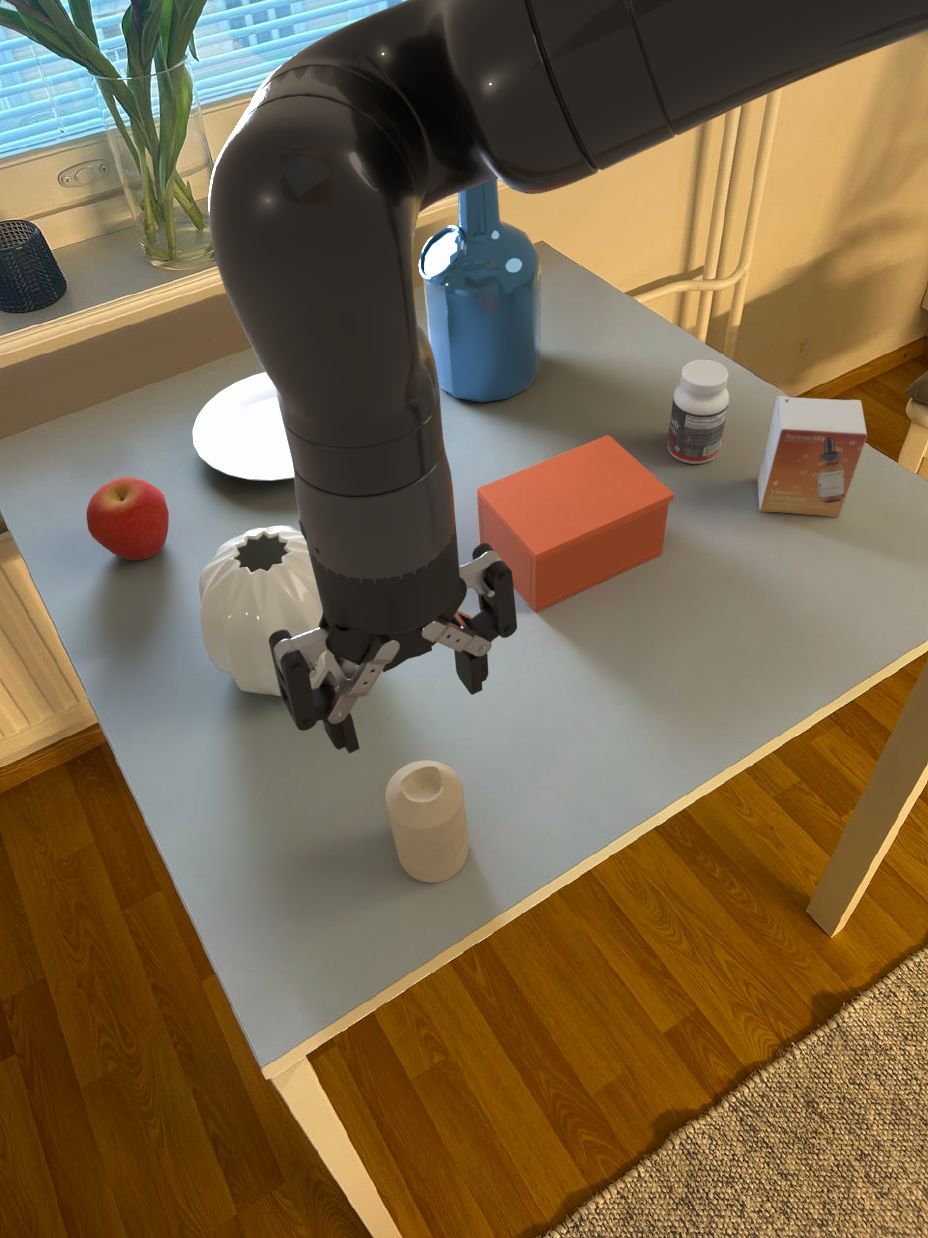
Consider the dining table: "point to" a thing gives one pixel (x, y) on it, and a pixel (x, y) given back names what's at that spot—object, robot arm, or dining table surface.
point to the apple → (129, 518)
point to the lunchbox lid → (573, 496)
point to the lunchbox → (574, 556)
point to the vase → (258, 603)
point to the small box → (810, 455)
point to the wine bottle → (482, 301)
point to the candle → (428, 820)
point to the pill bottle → (698, 412)
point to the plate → (245, 432)
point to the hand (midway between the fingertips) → (410, 711)
